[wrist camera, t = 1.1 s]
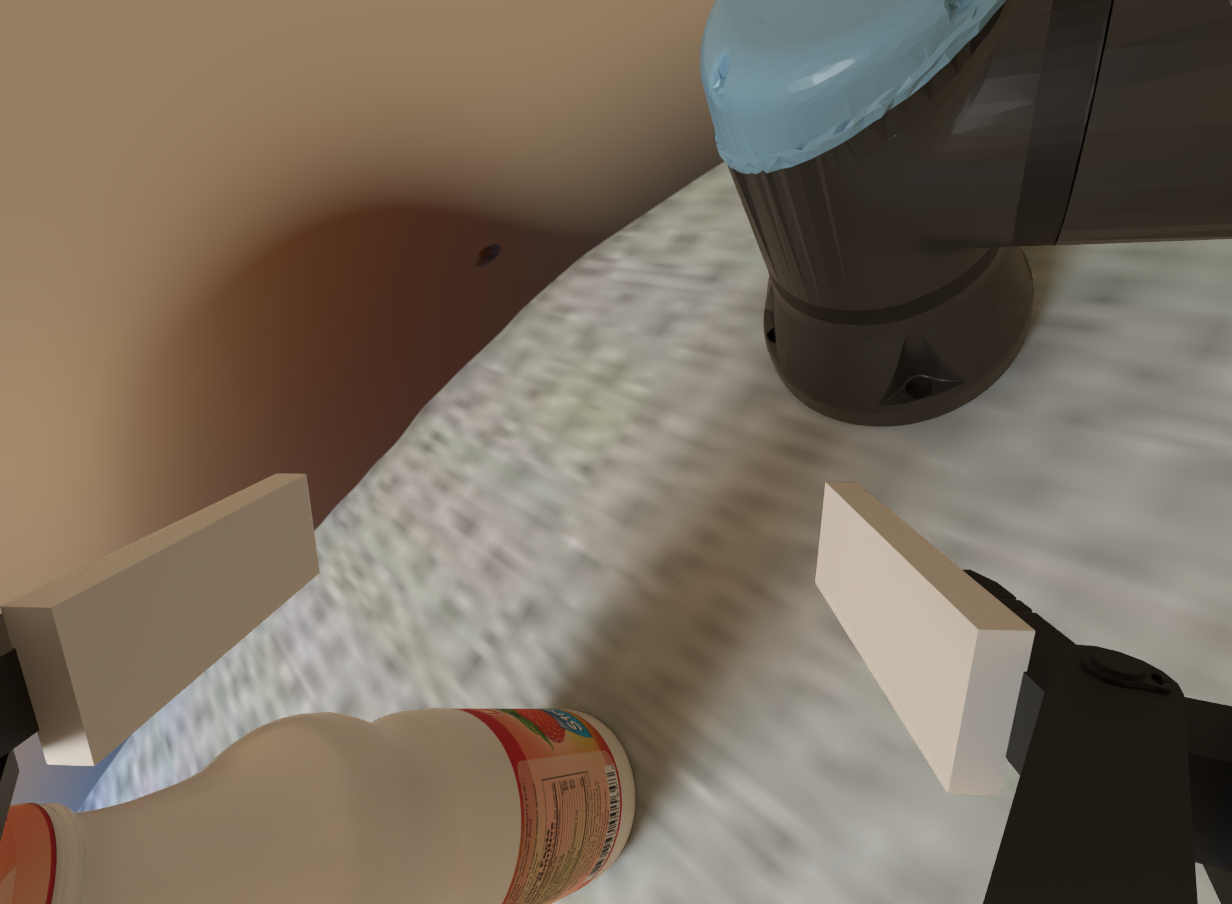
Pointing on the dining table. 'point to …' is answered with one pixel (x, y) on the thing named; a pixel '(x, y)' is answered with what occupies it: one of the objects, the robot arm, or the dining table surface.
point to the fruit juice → (349, 818)
